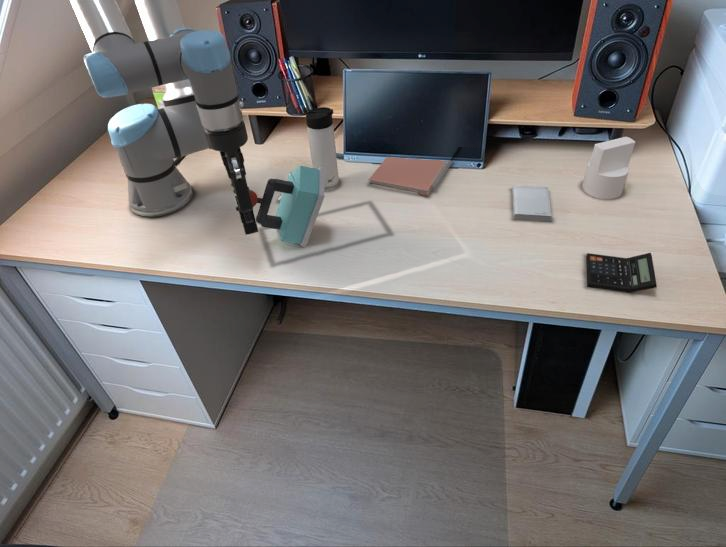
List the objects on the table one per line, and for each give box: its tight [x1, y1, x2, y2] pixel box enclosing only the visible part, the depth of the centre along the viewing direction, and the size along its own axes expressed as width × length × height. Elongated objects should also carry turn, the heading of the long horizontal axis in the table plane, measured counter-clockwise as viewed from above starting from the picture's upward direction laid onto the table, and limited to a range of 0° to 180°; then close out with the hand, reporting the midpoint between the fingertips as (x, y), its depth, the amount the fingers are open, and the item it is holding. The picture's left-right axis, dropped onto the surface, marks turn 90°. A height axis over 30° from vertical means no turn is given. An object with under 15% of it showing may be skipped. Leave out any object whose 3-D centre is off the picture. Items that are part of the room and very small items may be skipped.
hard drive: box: [511, 184, 553, 223], centre depth 121 cm, size 2×8×12 cm
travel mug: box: [305, 106, 340, 190], centre depth 127 cm, size 6×7×20 cm
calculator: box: [585, 252, 658, 294], centre depth 101 cm, size 9×12×3 cm
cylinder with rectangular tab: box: [581, 136, 636, 200], centre depth 120 cm, size 9×9×12 cm
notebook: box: [368, 156, 455, 197], centre depth 137 cm, size 27×17×2 cm, turn 155°
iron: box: [249, 165, 326, 248], centre depth 109 cm, size 17×9×16 cm
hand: (249, 226), depth 111 cm, fingers closed on iron, 4 cm apart
